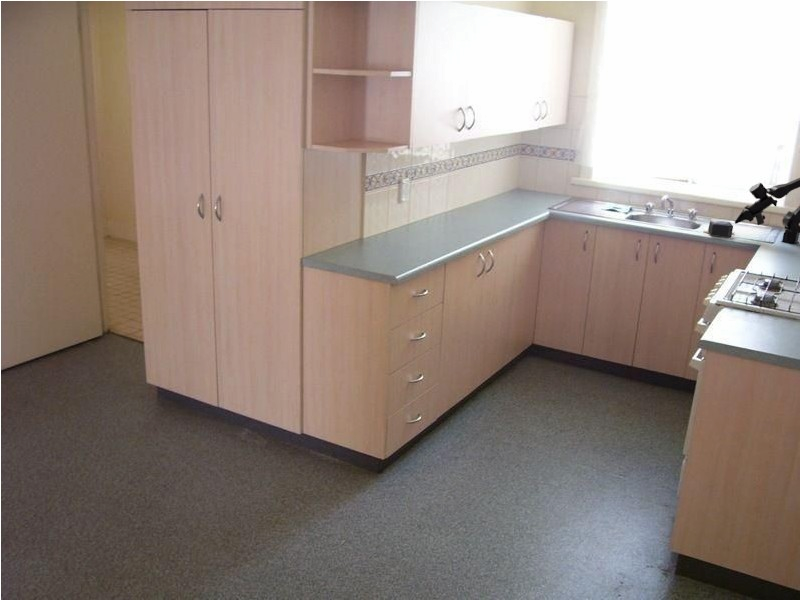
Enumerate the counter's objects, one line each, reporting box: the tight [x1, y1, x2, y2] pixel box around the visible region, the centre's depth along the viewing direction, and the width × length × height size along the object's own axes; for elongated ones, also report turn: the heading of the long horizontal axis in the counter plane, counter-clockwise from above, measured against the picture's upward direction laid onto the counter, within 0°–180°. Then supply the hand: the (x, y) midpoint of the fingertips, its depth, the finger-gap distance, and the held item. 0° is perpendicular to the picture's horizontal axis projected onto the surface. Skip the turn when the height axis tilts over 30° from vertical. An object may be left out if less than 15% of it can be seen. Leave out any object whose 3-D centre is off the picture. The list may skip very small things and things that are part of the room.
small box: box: [707, 220, 734, 238], centre depth 420 cm, size 11×6×10 cm
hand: (735, 223), depth 417 cm, fingers closed
